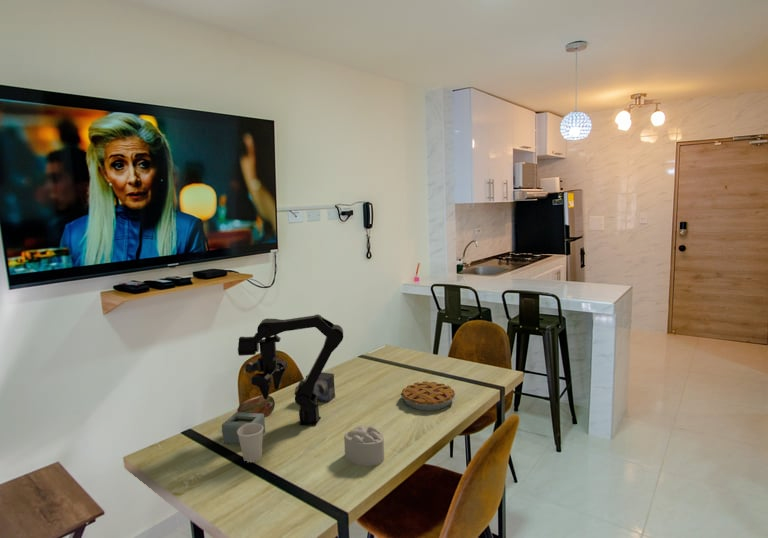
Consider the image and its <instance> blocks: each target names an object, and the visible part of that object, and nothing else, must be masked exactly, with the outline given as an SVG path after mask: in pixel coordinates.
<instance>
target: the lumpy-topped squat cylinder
mask: <svg viewBox="0 0 768 538" xmlns="http://www.w3.org/2000/svg"><path fill="white" fill-rule="evenodd" d="M343 436H344V437H343V440H344V457H345V459H347V460H348V461H350V462H352V463H353V464H356V465H359V466H365V467H367V466H368V467H370V466H371V467H372V466H373V467H374V466H378V465H380V464H383V462H385V441H384V435H383V434H382V432H381V431H379V430H378V429H377V427H376V426H373V425H371V426H366V425H363V426H362V425H359V426H356V427H355V428H352V430H349V431H347V432H346V433H344V435H343Z"/></svg>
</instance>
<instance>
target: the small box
mask: <svg viewBox="0 0 768 538" xmlns="http://www.w3.org/2000/svg"><path fill="white" fill-rule="evenodd" d="M307 376H308V374H307V375H305V379H306V378H307ZM335 391H336V389H335V373H330V372H323V371H322V372H321V374H320V376H319V378H318V380H317V381H316V383H315V386H314V389H313V393H314V394H315V395H317V402H322V403H330V402H331V401H333V399H335V398H336V392H335Z"/></svg>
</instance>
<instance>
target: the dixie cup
mask: <svg viewBox="0 0 768 538" xmlns="http://www.w3.org/2000/svg"><path fill="white" fill-rule="evenodd" d="M263 429H264V427H263V426H262V425H261V424H257V423H252V424H247V425H244V426H242V427H240V428H239V429H238V430H237V434H238V437H239V441H240V445H239V446H240V450H241V453H242V457H243V461H244V462H245V461H247V462H246V463H249V462H250V463H253V462H252V461H256V460H258V459H259V460H260V458H262V457H263V456H262V455H263V454H262V451H263V435H264V434H263ZM261 456H262V457H261ZM259 460H258V461H259ZM256 462H257V461H256Z"/></svg>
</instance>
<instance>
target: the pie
mask: <svg viewBox="0 0 768 538" xmlns="http://www.w3.org/2000/svg"><path fill="white" fill-rule="evenodd" d="M400 397H401V398H402V399H403V401H404V402H405V404H406V405H408V407H410V408H413V409H416V410H420V411H424V412H425V411H426V412H427V411H428V412H431V411H437V410H442V409H444V408H446V407H448V406H449V405H451V403H452V401H453V399H455V397H456V392H455V389H452V387H451V386H450V385H446V384H445V383H437V382H436V381H432V382H428V381H422V382H414V383H413V384H408V385H407V386H406V387H403V388H402V391H401V393H400Z"/></svg>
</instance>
